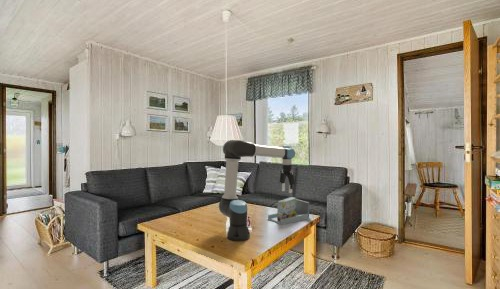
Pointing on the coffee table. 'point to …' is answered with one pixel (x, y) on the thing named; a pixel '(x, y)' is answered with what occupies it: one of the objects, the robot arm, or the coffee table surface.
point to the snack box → (286, 208)
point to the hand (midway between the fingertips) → (286, 192)
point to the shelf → (301, 214)
